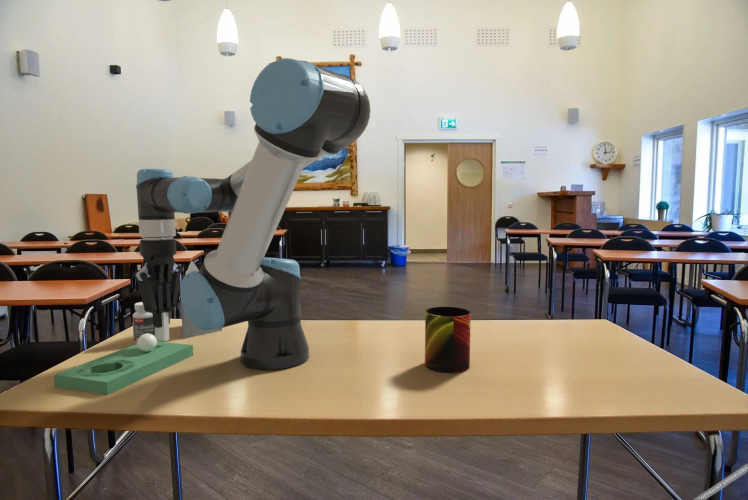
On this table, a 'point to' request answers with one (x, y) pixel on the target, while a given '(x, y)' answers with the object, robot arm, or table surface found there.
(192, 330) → the planter
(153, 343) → the ball
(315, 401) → the table surface
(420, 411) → the table surface
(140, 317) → the pill bottle
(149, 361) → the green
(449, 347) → the mug
